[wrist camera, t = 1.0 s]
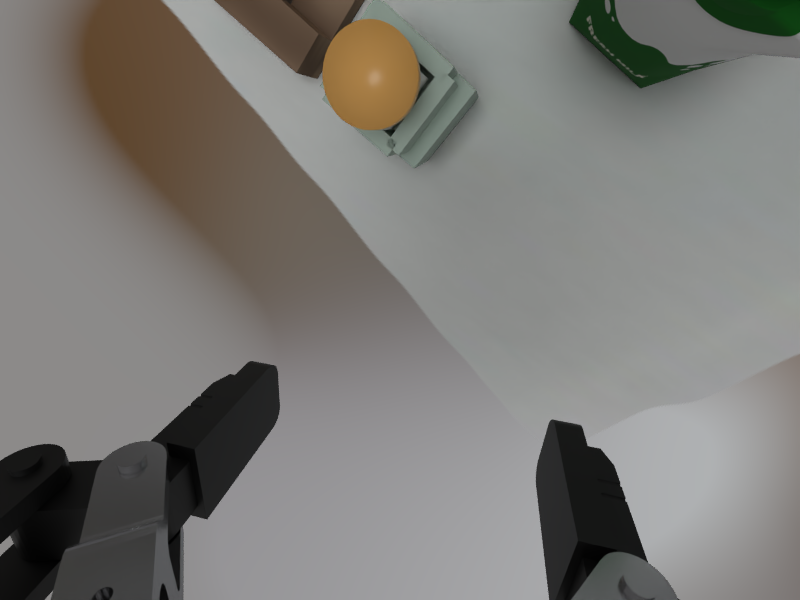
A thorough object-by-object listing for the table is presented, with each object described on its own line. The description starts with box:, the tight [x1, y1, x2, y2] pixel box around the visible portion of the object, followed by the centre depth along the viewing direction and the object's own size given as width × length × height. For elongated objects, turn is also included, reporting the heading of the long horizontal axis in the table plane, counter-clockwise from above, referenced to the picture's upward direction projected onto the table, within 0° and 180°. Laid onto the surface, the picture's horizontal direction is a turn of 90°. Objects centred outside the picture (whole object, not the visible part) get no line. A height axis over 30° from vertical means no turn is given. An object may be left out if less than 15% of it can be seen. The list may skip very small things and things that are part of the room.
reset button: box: [323, 19, 428, 130], centre depth 22 cm, size 5×5×4 cm
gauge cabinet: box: [320, 0, 478, 168], centre depth 28 cm, size 6×8×10 cm
